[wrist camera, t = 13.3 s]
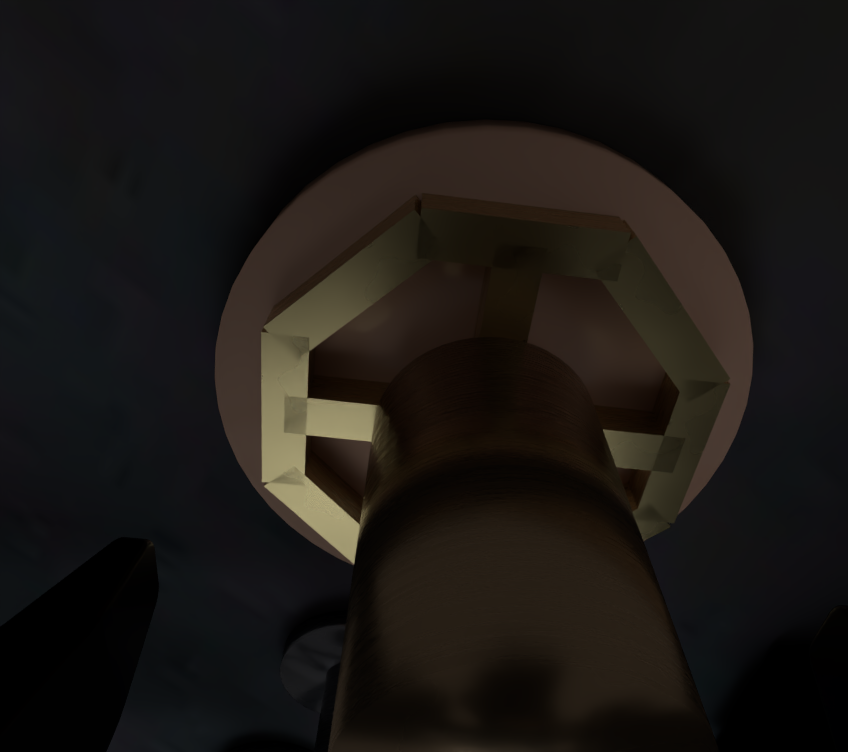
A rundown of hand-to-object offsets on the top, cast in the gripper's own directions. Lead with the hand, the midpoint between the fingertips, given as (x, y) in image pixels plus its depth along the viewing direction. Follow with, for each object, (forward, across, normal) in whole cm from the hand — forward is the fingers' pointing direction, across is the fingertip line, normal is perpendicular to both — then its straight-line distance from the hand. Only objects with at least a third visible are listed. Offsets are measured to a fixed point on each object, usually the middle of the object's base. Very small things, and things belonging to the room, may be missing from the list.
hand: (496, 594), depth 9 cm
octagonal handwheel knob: (+5, 0, 0) cm, 5 cm away
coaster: (+6, 0, 0) cm, 6 cm away
